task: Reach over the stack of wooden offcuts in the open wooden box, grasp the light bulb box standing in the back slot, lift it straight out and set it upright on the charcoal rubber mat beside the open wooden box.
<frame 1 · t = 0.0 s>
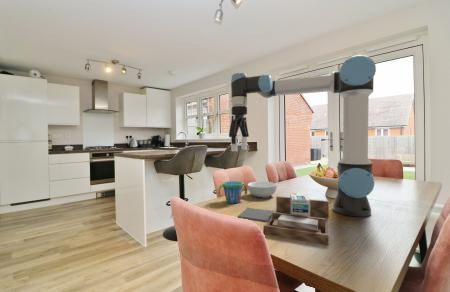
hand: (239, 150, 112), 28 cm above the table, fingers open, 13 cm apart
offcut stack: (296, 234, 81), resting in open wooden box
cereal bowl: (262, 196, 134), on the table
mat: (256, 214, 101), on the table
open wooden box: (298, 226, 87), on the table
snack cup: (233, 202, 122), on the table
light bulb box: (299, 223, 91), resting in open wooden box
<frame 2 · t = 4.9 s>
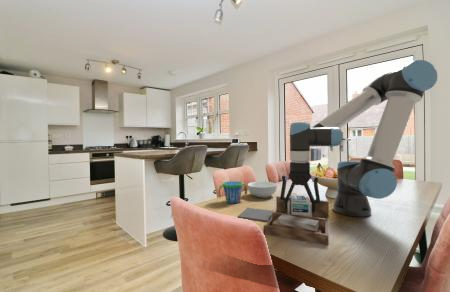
hand: (299, 218, 91), 2 cm above the table, fingers closed on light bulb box, 8 cm apart
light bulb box: (299, 223, 91), resting in open wooden box, touching gripper
when the fingers open (4 cm above the table, at t = 13.1 s): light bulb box drops 1 cm, resting on mat.
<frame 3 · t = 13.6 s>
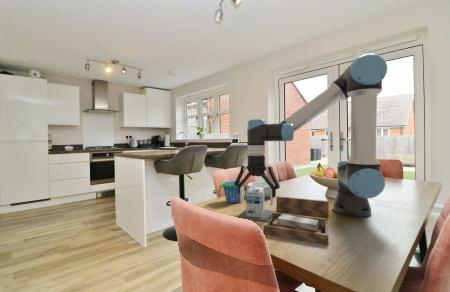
hand: (256, 203, 101), 5 cm above the table, fingers open, 13 cm apart
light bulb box: (255, 213, 101), resting on mat
everything else where it was.
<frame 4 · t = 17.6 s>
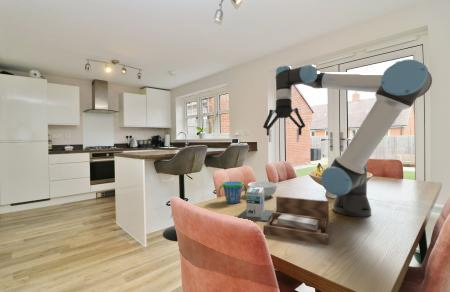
hand: (283, 142, 114), 32 cm above the table, fingers open, 13 cm apart
nothing on the table moved.
at the end: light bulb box inside the target area on the mat (0.4 cm from its centre), point 0.4 cm above the mat's base; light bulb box tilted 0°; the gripper is holding nothing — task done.
